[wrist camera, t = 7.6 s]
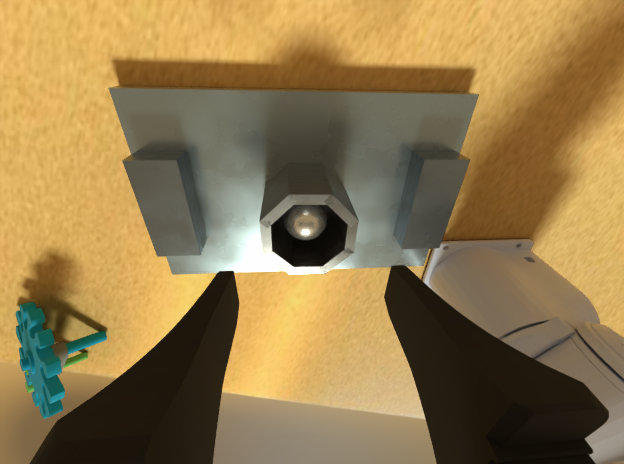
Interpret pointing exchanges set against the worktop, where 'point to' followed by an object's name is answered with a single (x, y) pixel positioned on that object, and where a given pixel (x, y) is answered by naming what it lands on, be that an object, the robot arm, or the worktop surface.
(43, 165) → the worktop surface
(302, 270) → the collar
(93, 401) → the robot arm
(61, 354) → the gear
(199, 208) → the shaft mount
